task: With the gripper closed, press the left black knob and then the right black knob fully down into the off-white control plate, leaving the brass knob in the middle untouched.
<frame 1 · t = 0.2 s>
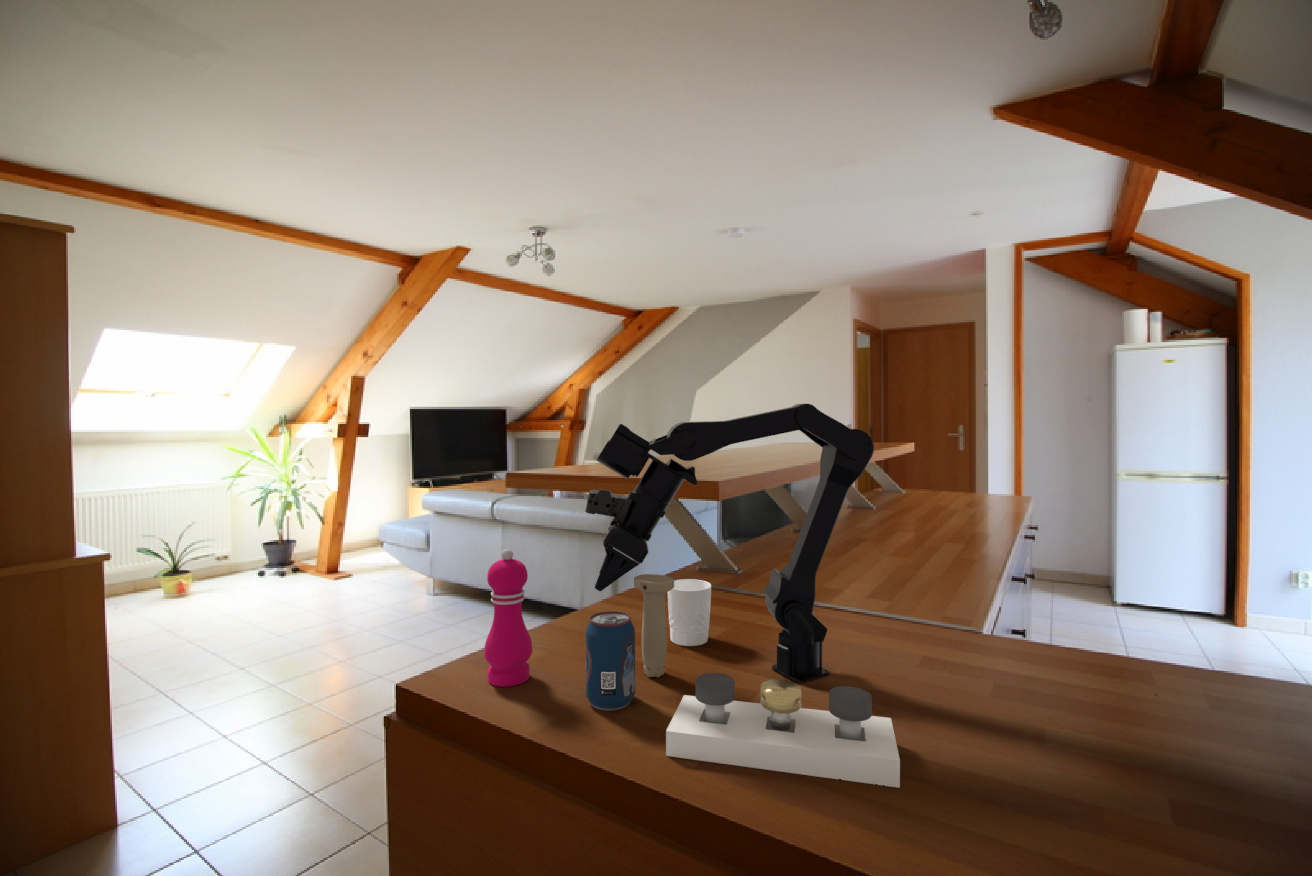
hand: (599, 582, 98), 15 cm above the kitchen counter, tool tilted 30°, fingers open, 9 cm apart
knob middle: (780, 706, 77), point 5 cm above the kitchen counter, slide at 0.0 cm
soda can: (610, 702, 91), on the kitchen counter
pepper mill: (508, 679, 98), on the kitchen counter
handle: (654, 675, 100), on the kitchen counter
knob 2: (850, 714, 75), point 5 cm above the kitchen counter, slide at 0.0 cm
knob 1: (714, 699, 79), point 5 cm above the kitchen counter, slide at 0.0 cm
control plate: (780, 748, 78), on the kitchen counter
white cup: (689, 641, 115), on the kitchen counter
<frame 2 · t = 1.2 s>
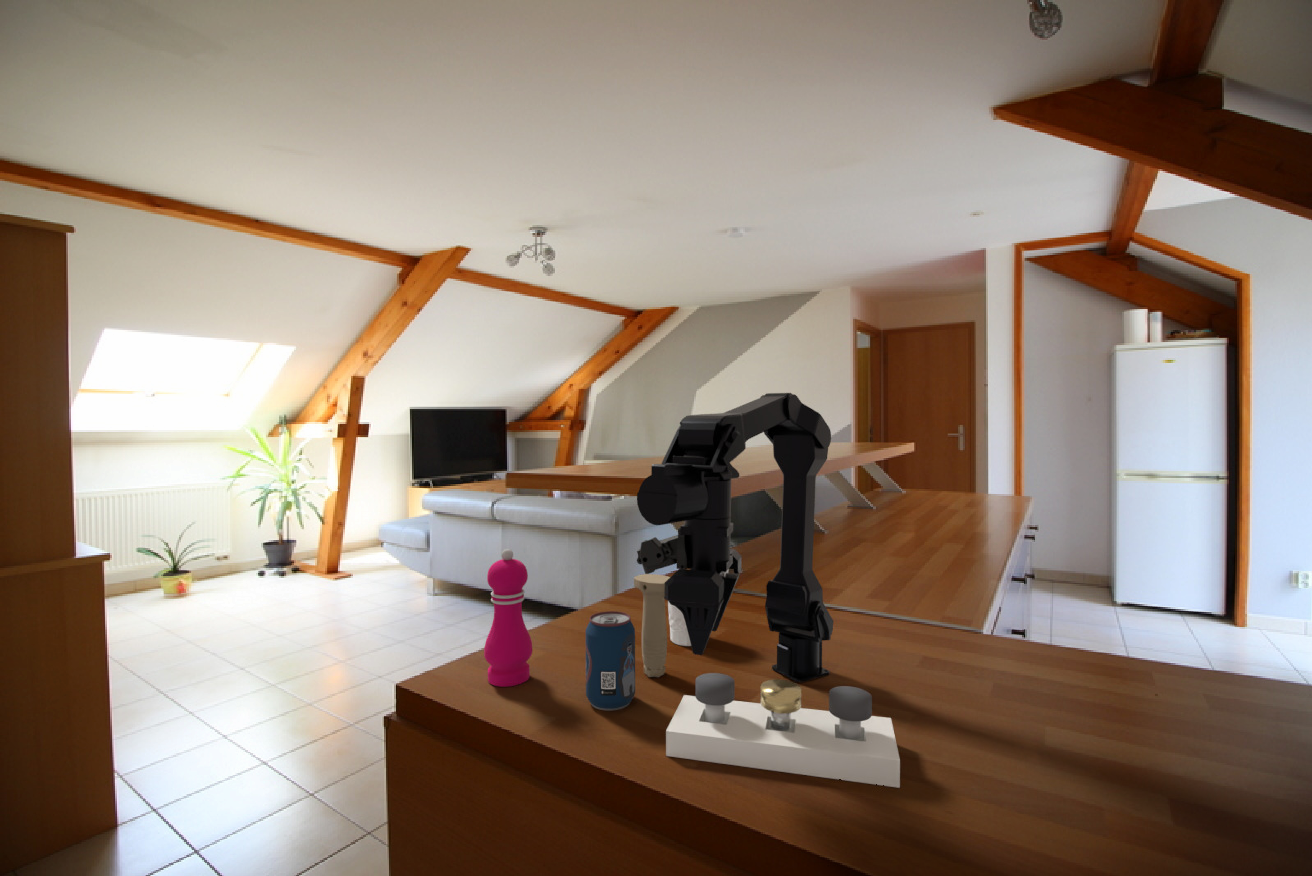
hand: (705, 641, 80), 12 cm above the kitchen counter, tool pointing down, fingers open, 9 cm apart
nothing on the kitchen counter moved.
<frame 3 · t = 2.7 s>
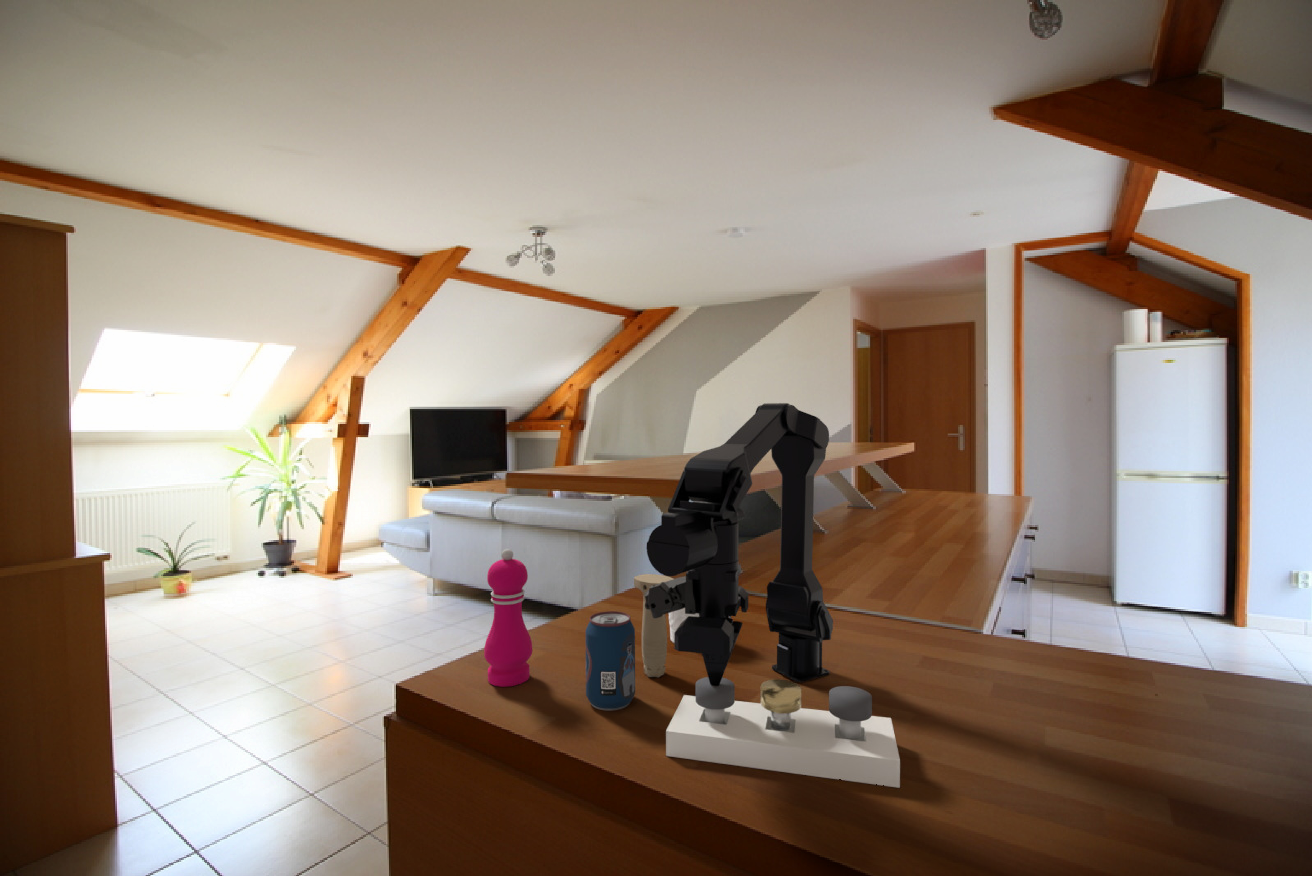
hand: (715, 684, 79), 7 cm above the kitchen counter, tool pointing down, fingers closed, pressing on knob 1
knob 1: (714, 703, 79), point 5 cm above the kitchen counter, slide at 0.5 cm, touching gripper
everything else where it was.
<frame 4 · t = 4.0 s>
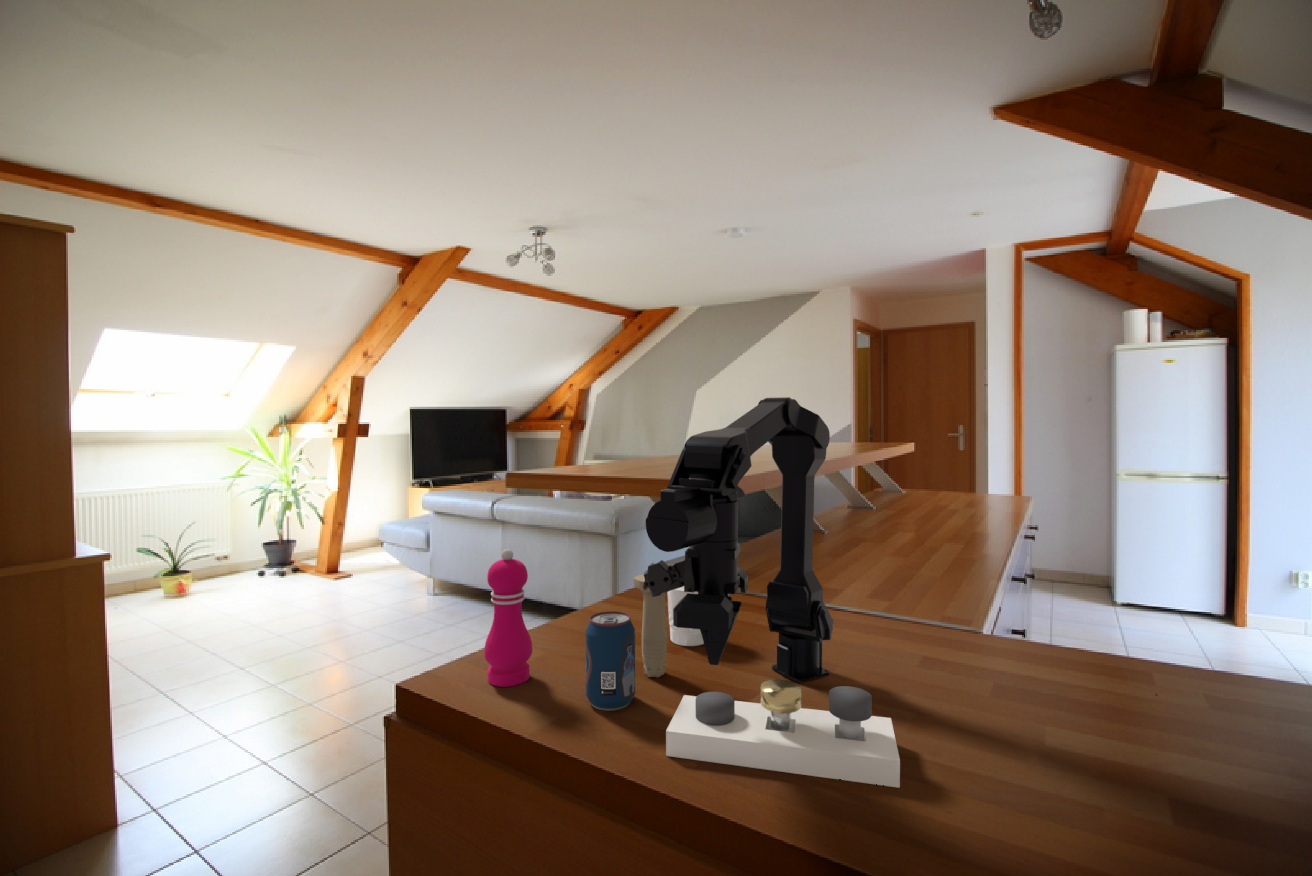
hand: (714, 663, 79), 10 cm above the kitchen counter, tool pointing down, fingers closed
knob 1: (714, 718, 79), point 3 cm above the kitchen counter, slide at 2.4 cm
everything else where it was.
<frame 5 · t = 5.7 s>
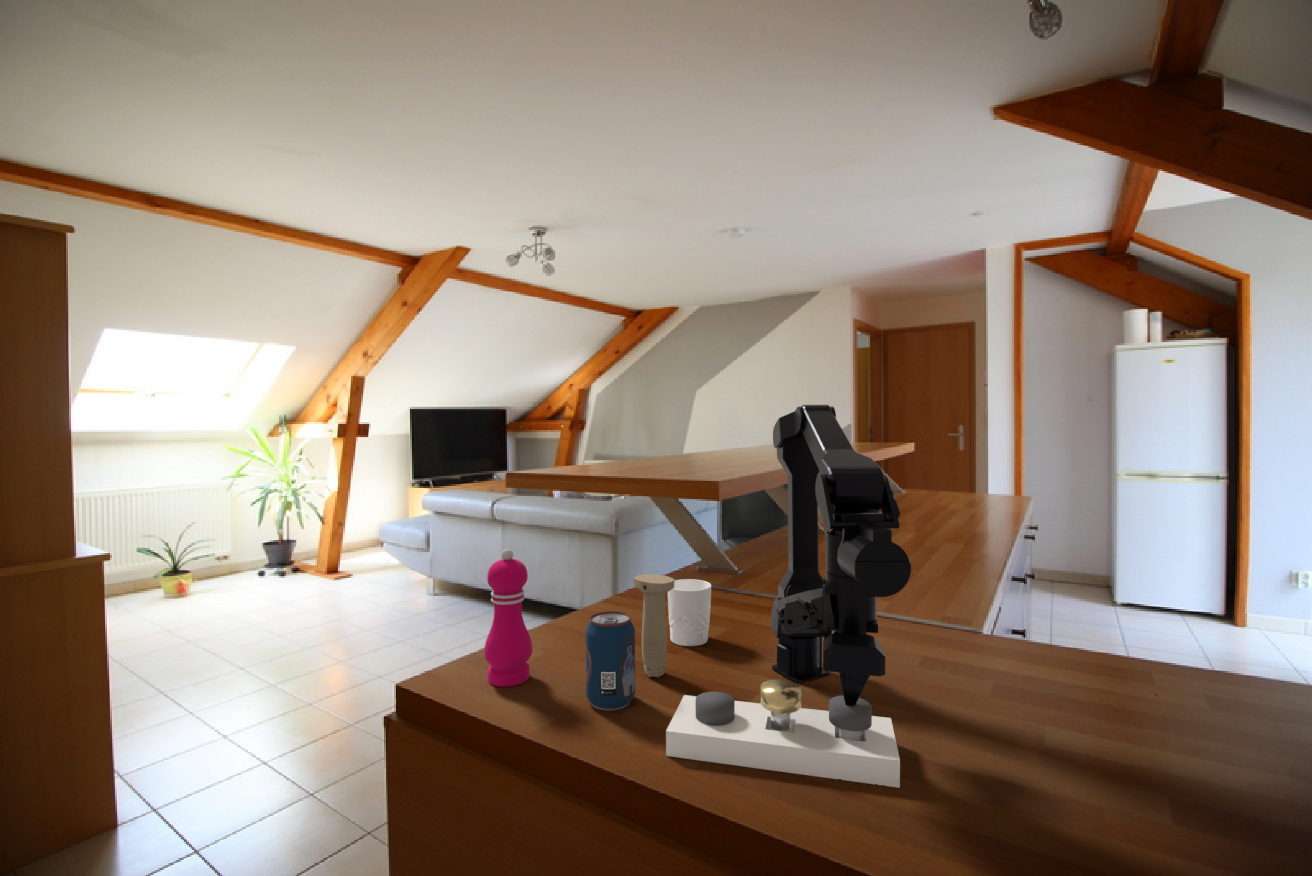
hand: (850, 704, 75), 6 cm above the kitchen counter, tool pointing down, fingers closed, pressing on knob 2
knob 2: (850, 724, 75), point 4 cm above the kitchen counter, slide at 1.2 cm, touching gripper
everything else where it was.
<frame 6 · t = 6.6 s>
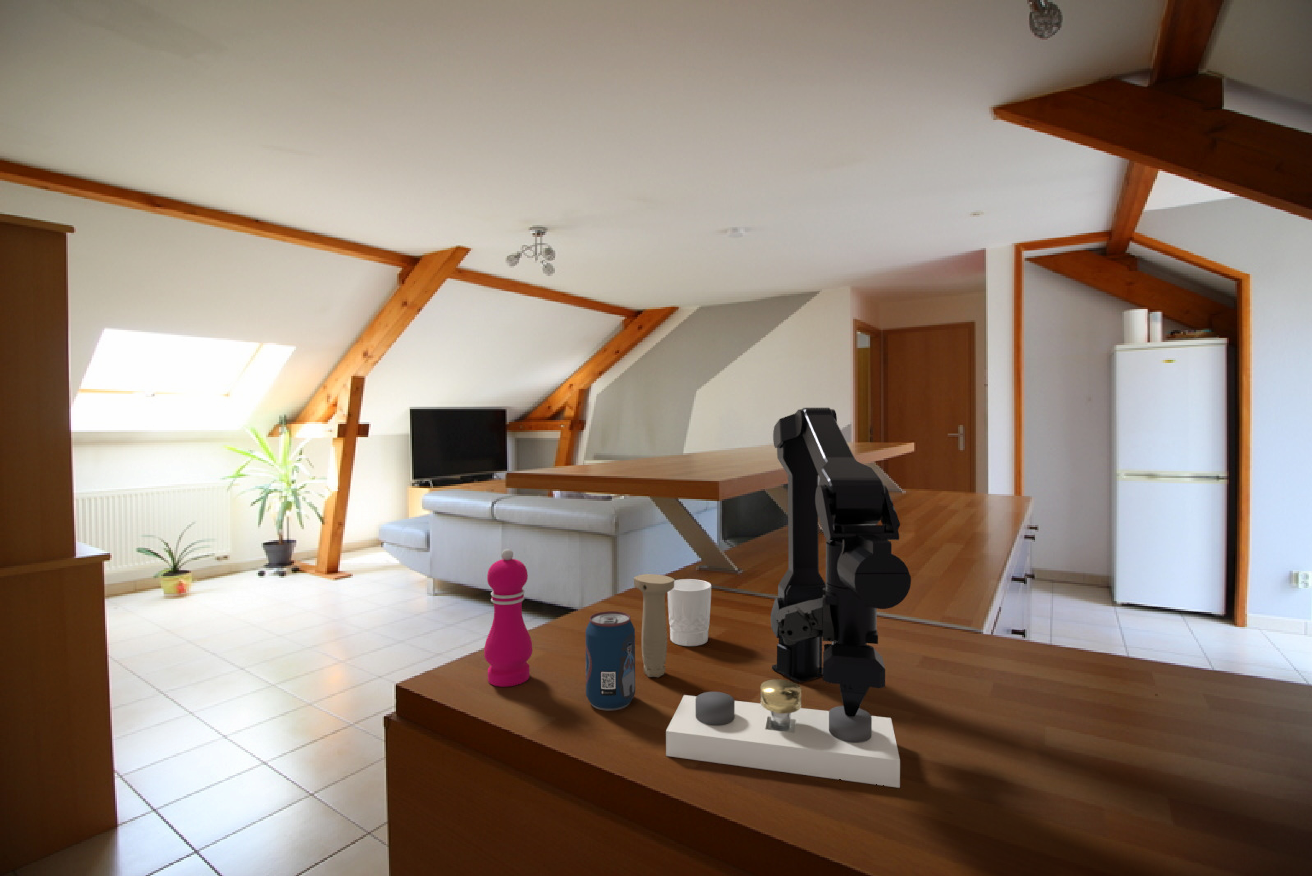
hand: (850, 714, 75), 5 cm above the kitchen counter, tool pointing down, fingers closed
knob 2: (849, 734, 75), point 3 cm above the kitchen counter, slide at 2.4 cm
everything else where it was.
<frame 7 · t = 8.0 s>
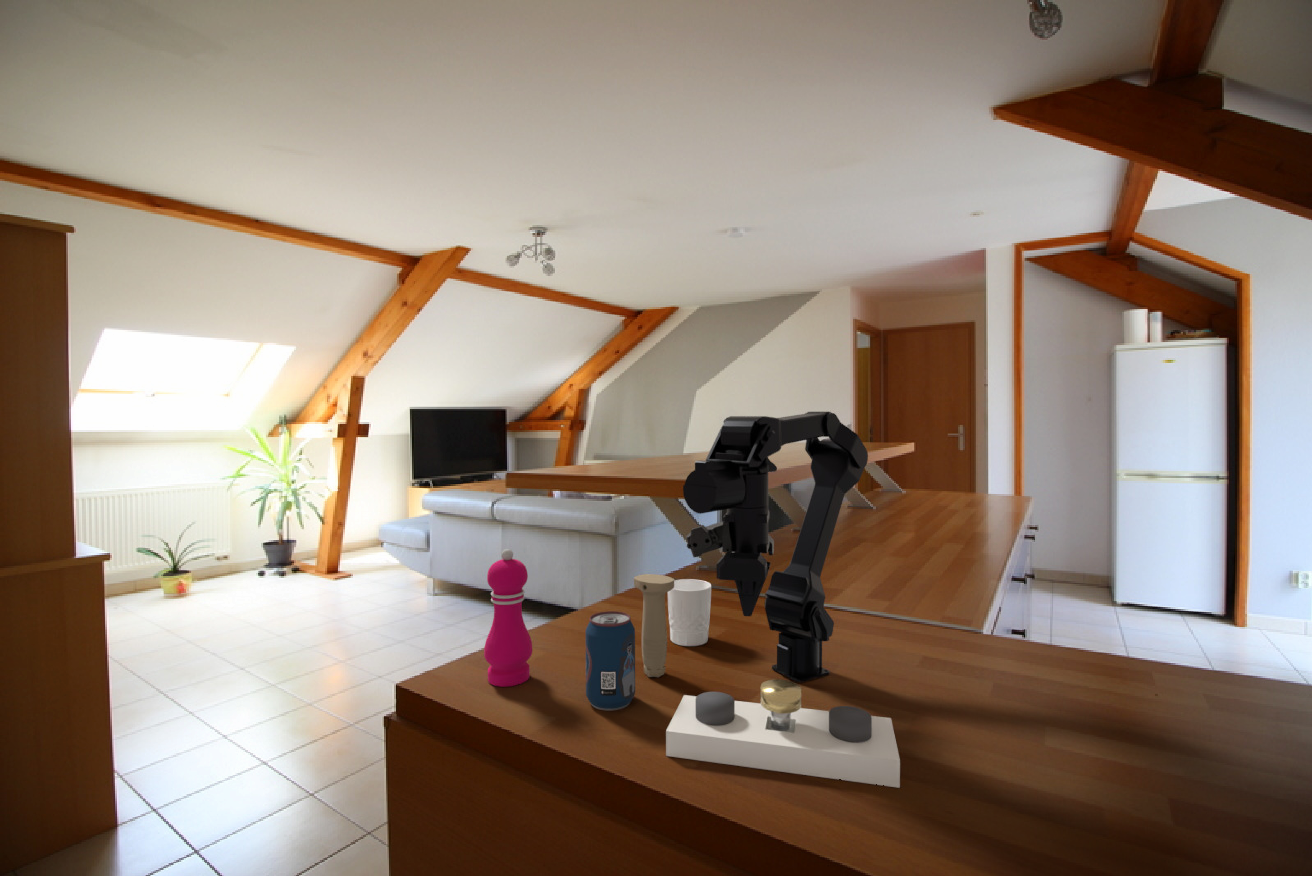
hand: (747, 615, 91), 12 cm above the kitchen counter, tool pointing down, fingers closed
nothing on the kitchen counter moved.
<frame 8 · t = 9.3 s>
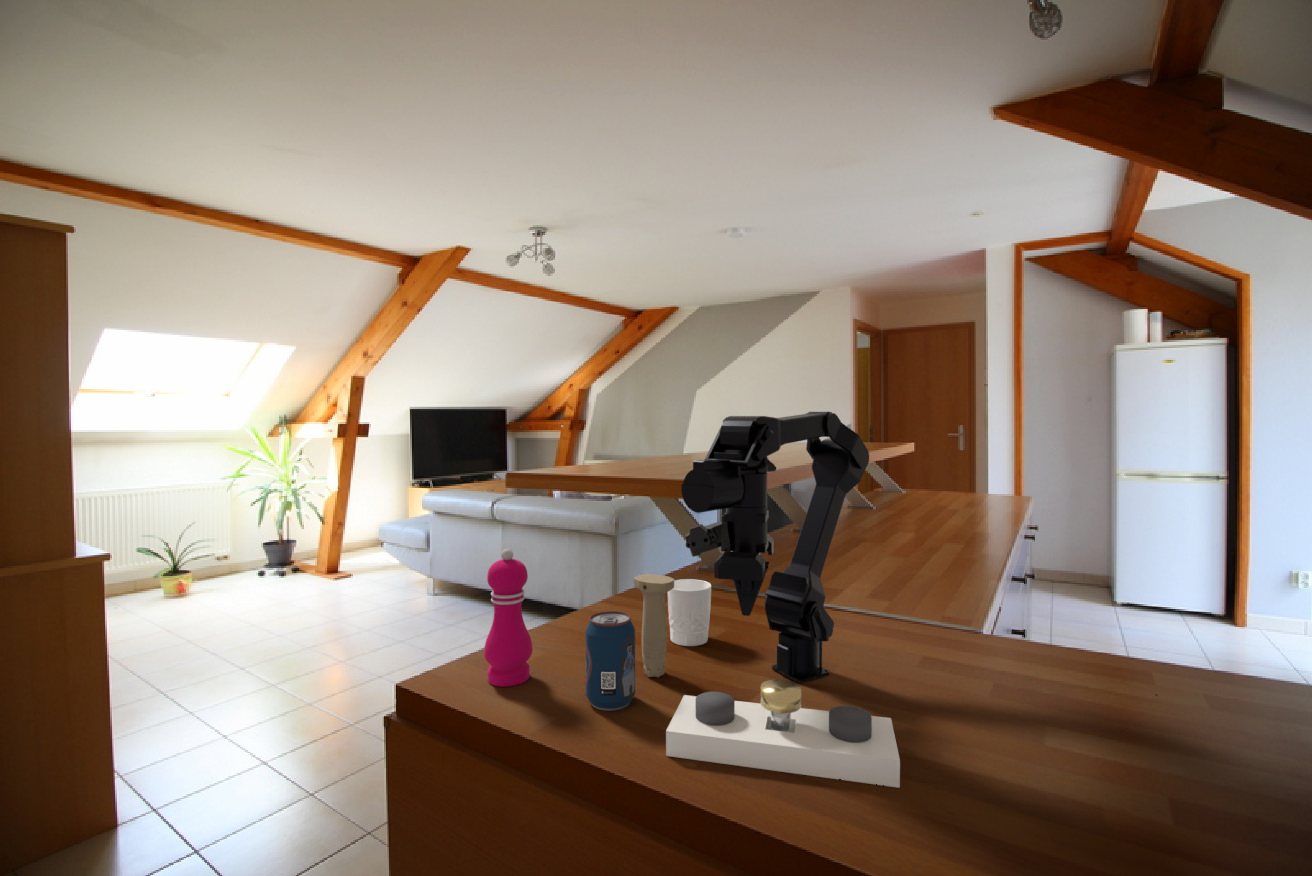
hand: (746, 615, 91), 12 cm above the kitchen counter, tool pointing down, fingers closed
nothing on the kitchen counter moved.
at the end: knob 1 slide at 2.4 cm; knob 2 slide at 2.4 cm; knob middle slide at 0.0 cm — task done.
